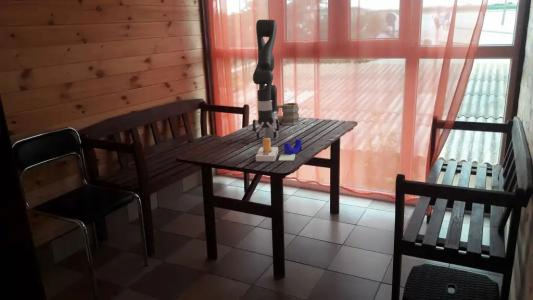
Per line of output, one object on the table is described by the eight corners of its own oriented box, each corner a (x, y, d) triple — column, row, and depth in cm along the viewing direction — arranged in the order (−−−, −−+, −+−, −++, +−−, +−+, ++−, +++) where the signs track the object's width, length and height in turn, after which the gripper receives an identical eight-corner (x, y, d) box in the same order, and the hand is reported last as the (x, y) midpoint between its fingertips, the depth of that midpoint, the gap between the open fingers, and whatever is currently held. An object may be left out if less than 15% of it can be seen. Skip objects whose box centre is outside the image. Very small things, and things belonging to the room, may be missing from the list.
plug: (264, 155, 242) (263, 138, 239) (271, 155, 241) (270, 137, 238) (263, 157, 238) (262, 140, 235) (270, 157, 237) (269, 139, 234)
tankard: (300, 121, 317) (299, 100, 312) (299, 125, 305) (298, 104, 300) (272, 122, 319) (271, 101, 315) (271, 126, 307) (269, 105, 303)
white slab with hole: (260, 152, 248) (260, 147, 247) (278, 152, 246) (278, 146, 245) (255, 161, 233) (255, 155, 232) (274, 161, 231) (274, 155, 230)
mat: (280, 155, 240) (280, 154, 240) (295, 155, 239) (295, 154, 239) (278, 161, 231) (278, 160, 231) (293, 161, 229) (293, 159, 229)
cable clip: (291, 154, 238) (290, 144, 236) (284, 153, 241) (284, 143, 239) (303, 150, 247) (303, 139, 245) (297, 149, 249) (297, 139, 248)
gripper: (279, 107, 234) (280, 136, 239) (252, 107, 236) (254, 137, 241) (277, 109, 227) (279, 140, 232) (250, 110, 229) (252, 140, 234)
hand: (266, 138), depth 236 cm, fingers open, 8 cm apart
